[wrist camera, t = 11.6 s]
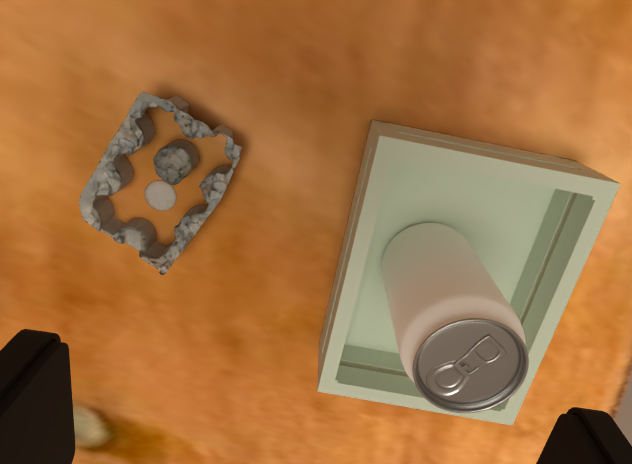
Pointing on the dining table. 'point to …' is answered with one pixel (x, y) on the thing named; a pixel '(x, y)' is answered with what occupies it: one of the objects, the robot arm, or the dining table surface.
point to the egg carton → (158, 194)
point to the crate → (480, 232)
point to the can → (452, 321)
